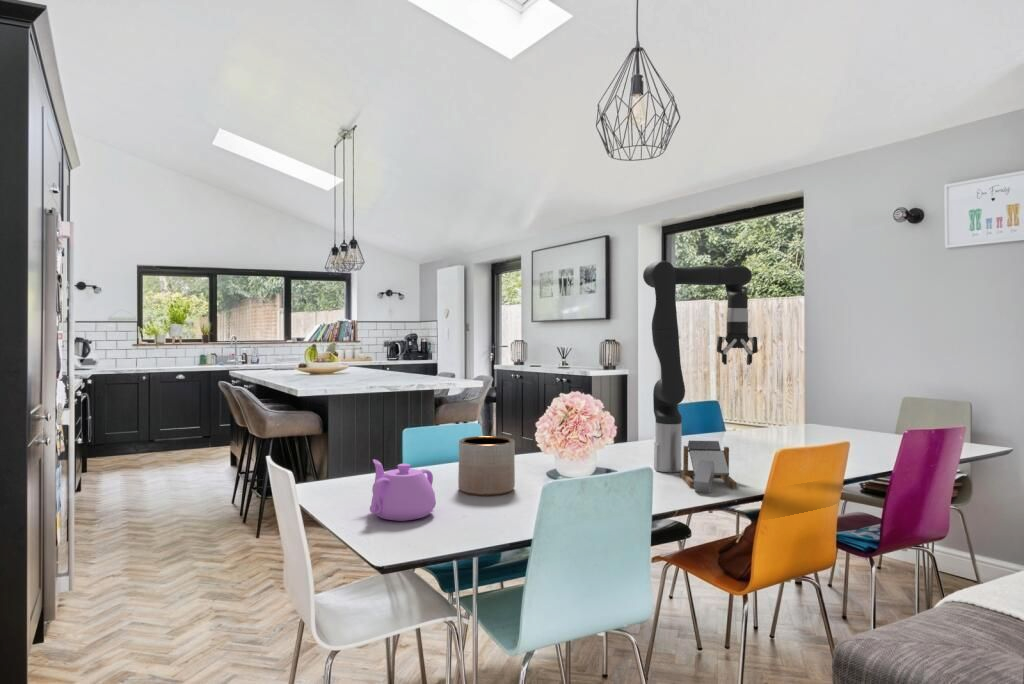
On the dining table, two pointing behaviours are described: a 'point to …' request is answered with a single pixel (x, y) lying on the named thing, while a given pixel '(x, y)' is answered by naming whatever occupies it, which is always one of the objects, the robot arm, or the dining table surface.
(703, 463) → the basalt block
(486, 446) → the planter
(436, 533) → the dining table surface
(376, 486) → the teapot
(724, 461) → the trapdoor plate
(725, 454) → the brown wooden frame
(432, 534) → the dining table surface
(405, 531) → the dining table surface
